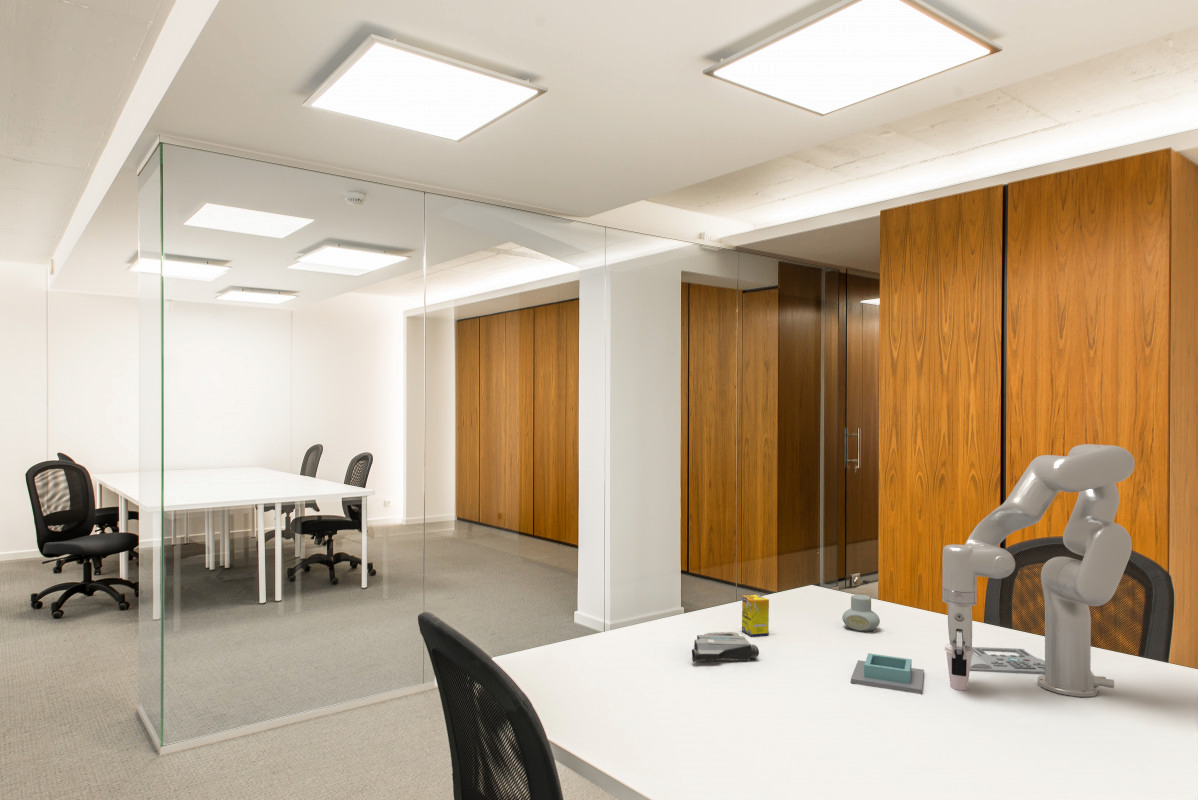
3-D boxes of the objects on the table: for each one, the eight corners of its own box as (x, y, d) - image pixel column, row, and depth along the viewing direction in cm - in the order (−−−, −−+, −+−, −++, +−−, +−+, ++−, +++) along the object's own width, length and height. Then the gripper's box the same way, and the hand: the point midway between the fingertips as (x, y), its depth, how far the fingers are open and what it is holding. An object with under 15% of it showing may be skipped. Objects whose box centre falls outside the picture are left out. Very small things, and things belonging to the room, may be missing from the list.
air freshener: (882, 628, 235) (882, 596, 235) (876, 635, 228) (876, 601, 228) (846, 623, 240) (846, 591, 241) (839, 629, 233) (839, 596, 234)
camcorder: (765, 661, 202) (765, 641, 202) (696, 668, 195) (696, 648, 195) (734, 644, 217) (734, 626, 217) (669, 650, 210) (669, 631, 210)
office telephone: (968, 663, 196) (941, 641, 216) (968, 674, 196) (941, 650, 216) (1062, 667, 194) (1026, 643, 214) (1062, 677, 194) (1026, 653, 214)
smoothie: (970, 694, 179) (970, 634, 179) (941, 688, 183) (941, 629, 183) (976, 686, 184) (976, 628, 184) (947, 680, 188) (948, 624, 188)
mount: (923, 673, 193) (923, 657, 193) (921, 693, 179) (921, 676, 179) (858, 663, 200) (858, 648, 200) (850, 682, 186) (850, 666, 186)
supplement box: (741, 631, 229) (741, 595, 229) (758, 630, 231) (759, 594, 231) (750, 637, 223) (751, 600, 223) (768, 635, 225) (769, 598, 225)
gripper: (977, 606, 175) (977, 684, 174) (975, 591, 190) (975, 663, 190) (941, 602, 178) (941, 679, 178) (942, 587, 194) (942, 658, 193)
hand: (958, 670), depth 184 cm, fingers closed on smoothie, 6 cm apart
